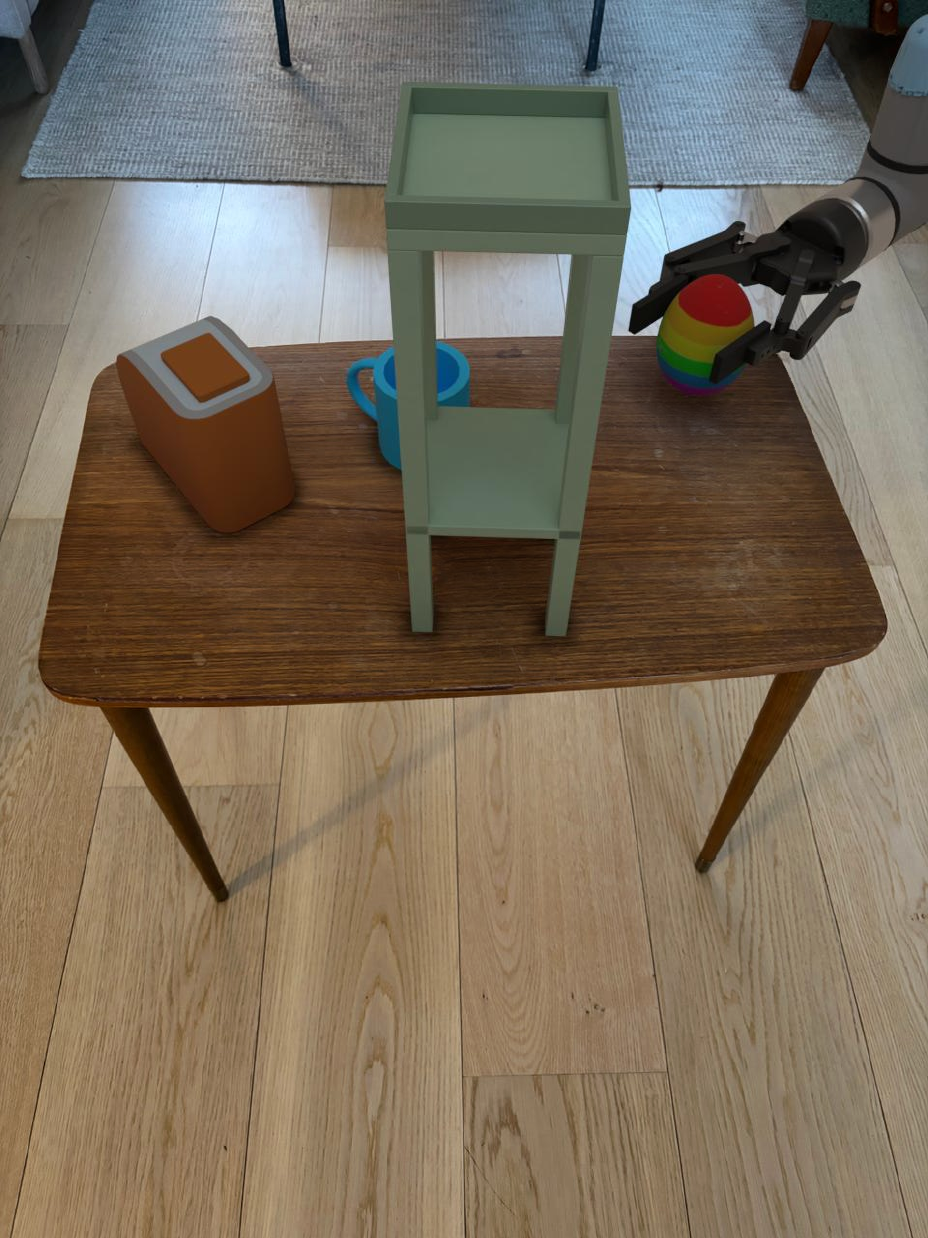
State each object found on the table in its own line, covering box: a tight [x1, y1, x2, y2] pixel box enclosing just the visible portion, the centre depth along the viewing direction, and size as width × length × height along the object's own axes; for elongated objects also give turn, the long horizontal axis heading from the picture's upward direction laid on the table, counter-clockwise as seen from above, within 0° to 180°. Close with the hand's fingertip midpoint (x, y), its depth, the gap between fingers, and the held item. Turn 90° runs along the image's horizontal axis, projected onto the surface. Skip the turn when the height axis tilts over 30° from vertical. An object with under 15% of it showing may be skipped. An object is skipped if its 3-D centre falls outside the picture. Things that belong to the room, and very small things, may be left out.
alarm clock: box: [115, 315, 296, 534], centre depth 82 cm, size 15×8×14 cm, turn 37°
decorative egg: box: [655, 274, 756, 396], centre depth 85 cm, size 8×8×10 cm
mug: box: [345, 340, 471, 471], centre depth 87 cm, size 12×8×8 cm
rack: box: [383, 81, 632, 637], centre depth 66 cm, size 12×12×36 cm
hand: (673, 343), depth 82 cm, fingers closed on decorative egg, 8 cm apart
